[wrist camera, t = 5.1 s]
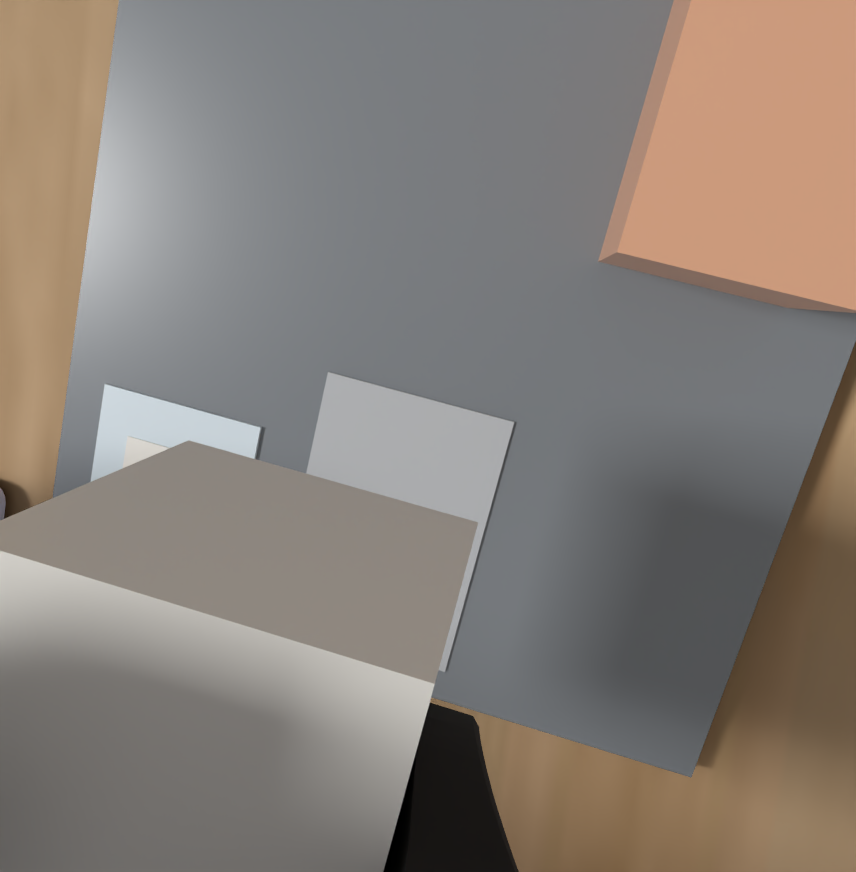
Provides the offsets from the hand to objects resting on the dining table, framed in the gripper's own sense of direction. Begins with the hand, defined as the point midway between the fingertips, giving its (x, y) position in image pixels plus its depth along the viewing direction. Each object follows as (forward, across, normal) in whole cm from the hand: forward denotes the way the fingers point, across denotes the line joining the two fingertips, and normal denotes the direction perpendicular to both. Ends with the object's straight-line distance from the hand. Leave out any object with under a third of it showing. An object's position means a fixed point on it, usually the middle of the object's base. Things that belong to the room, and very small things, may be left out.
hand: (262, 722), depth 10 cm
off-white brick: (+1, 0, 0) cm, 1 cm away
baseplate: (+9, 0, -6) cm, 11 cm away
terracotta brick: (+8, -5, -10) cm, 14 cm away
